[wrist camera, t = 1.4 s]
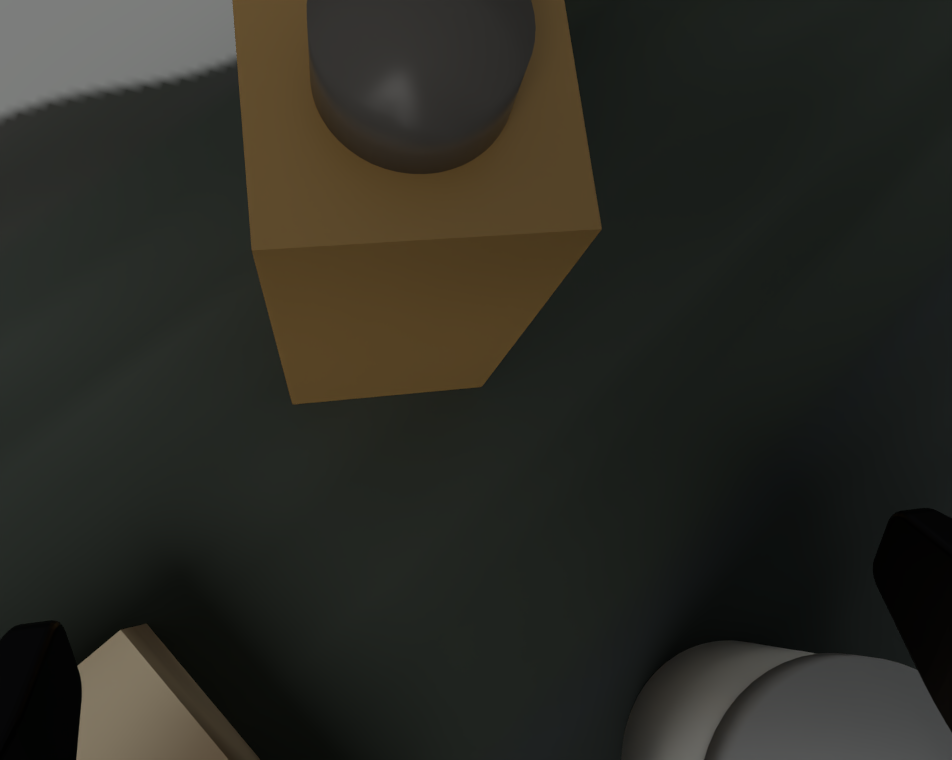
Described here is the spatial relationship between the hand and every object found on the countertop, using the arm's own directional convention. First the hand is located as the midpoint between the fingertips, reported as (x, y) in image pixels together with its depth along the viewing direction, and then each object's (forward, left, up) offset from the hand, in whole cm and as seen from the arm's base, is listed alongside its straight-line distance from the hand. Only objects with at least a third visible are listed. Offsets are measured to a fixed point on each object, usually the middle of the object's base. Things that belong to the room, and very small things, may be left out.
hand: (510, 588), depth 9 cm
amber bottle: (+6, -4, -13) cm, 15 cm away
